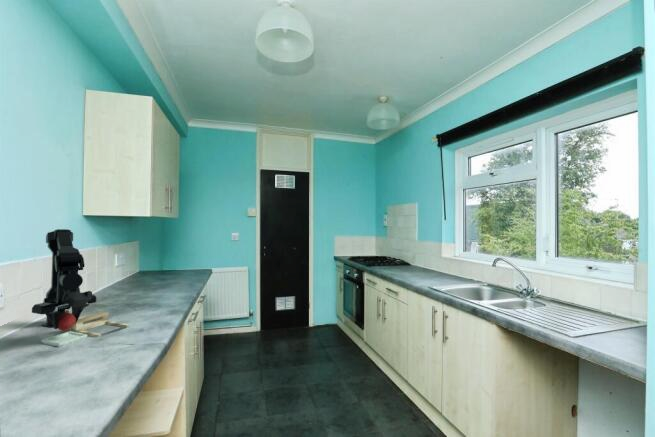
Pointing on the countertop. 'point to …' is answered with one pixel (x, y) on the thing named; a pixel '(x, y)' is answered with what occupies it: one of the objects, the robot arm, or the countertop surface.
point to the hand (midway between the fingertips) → (65, 326)
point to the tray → (64, 338)
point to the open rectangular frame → (95, 324)
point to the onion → (66, 321)
